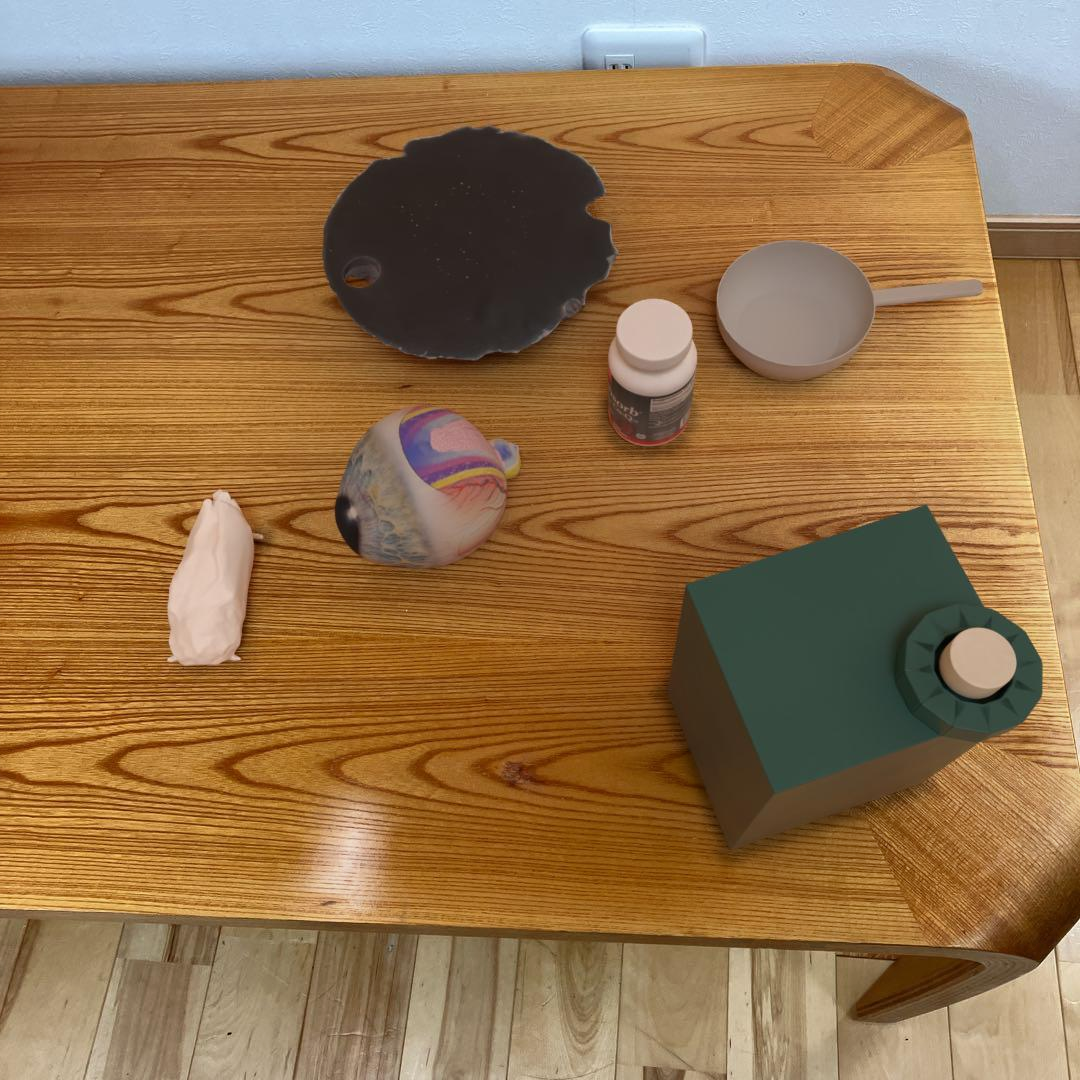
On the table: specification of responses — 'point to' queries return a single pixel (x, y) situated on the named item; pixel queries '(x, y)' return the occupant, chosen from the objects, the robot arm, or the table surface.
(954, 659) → the round beige push button
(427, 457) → the anatomical model
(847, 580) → the teal box with knob
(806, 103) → the table surface
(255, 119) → the table surface
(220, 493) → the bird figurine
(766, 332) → the small pan
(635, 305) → the pill bottle
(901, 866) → the table surface
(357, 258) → the board
